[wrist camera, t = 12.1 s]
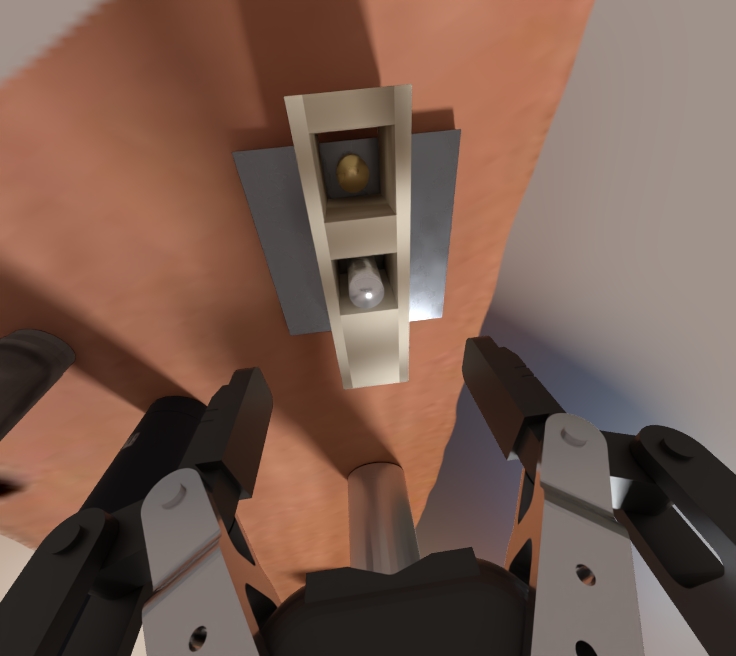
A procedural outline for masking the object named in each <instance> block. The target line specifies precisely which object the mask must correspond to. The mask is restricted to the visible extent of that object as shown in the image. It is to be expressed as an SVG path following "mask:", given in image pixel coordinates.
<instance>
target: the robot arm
mask: <svg viewBox="0 0 736 656" xmlns="http://www.w3.org/2000/svg"><path fill="white" fill-rule="evenodd" d="M462 373H463V378H464V381H465V383H466V385H467V387H468V388H469V390H470V392H471V394H472V396H473V398H474V400H475V402H476V403H477V405H478V407H479V409H480V411H481V413H482V415H483V417H484V418H485V420H486V422H487V424H488V426H489V428H490V429H491V431H492V433H493V435H494V437H495V439H496V441H497V443H498V444H499V447H500V448H501V450H502V452H503V454H504V456H505V458H506V460H507V461H508V460H514V459H520V461H521V463H522V465H523V466H524V468H523V470H522V476H521V483H520V489H519V495H518V502H517V508H516V515H515V521H514V527H513V531H512V535H511V538H510V541H509V545H508V549H507V553H506V559H505V565H504V568H502V567H500V566H498V565H496V564H494V563H492V562H489V561H486V560H483V559H479V558H476V557H475V554H474V551H473V548H472V547H469V548H463V549H457V550H450V551H443V552H437V553H432V554H430V555H428V556H426V557H424V558H423V559H420V553H419V548H418V543H417V538H416V533H415V528H414V523H413V517H412V512H411V507H410V502H409V496H408V491H407V486H406V481H405V476H404V472H403V470H402V469H401V468H400V467H399V466H397V465H394V464H390V463H373V464H368V465H364V466H361V467H359V468H357V469H355V470H354V471H353V472H352V473H350V475H349V476H348V505H349V506H348V509H349V541H350V567H343V568H337V569H331V570H324V571H318V572H312V573H306V585H305V586H303V587H301V588H300V589H298V590H297V591H296V592H294V593H293V594H292V595H290V596H289V597H288V598H287V599H286V600H285V601H284V602H283V603H281V601H280V599H279V597H278V595H277V593H276V591H275V589H274V587H273V585H272V583H271V582H270V580H269V579H268V577H267V576H266V574H265V573H264V571H263V570H262V568H261V566H260V564H259V562H258V559H257V557H256V555H255V553H254V551H253V548H252V546H251V544H250V542H249V539H248V537H247V535H246V533H245V531H244V528H243V526H242V524H241V522H240V520H239V517H238V515H237V514H236V509H237V505H238V501H239V500H242V499H249V498H252V495H253V490H254V486H255V482H256V477H257V473H258V469H259V465H260V460H261V456H262V452H263V447H264V443H265V439H266V434H267V430H268V426H269V422H270V417H271V413H272V408H273V399H272V394H271V392H270V390H269V387H268V385H267V383H266V381H265V379H264V377H263V374H262V372H261V370H260V369H259V368H258V367H253V368H245V369H238V370H236V371H235V372H234V374H233V376H232V378H231V381H230V383H229V385H224V386H222V387H221V388H220V389H219V390H218V391H217V393H216V394H215V395H214V396H213V397H212V398H211V400H210V403H209V405H208V407H207V409H206V413H204V415H203V417H202V419H201V424H199V426H198V428H197V430H196V432H195V434H194V436H193V438H192V440H191V442H190V444H189V447H188V449H187V451H186V453H185V455H184V457H183V459H182V461H181V463H180V465H179V467H178V469H177V471H174V472H172V473H170V474H169V475H167V476H165V477H164V478H163V479H161V480H160V481H159V482H158V483H157V484H156V485H155V486H154V487H153V488H152V489H151V491H150V492H149V493H148V495H147V496H146V498H144V499H142V500H140V501H138V502H135V503H133V504H131V505H129V506H127V507H124V508H122V509H120V510H118V511H115V512H113V513H111V514H108V513H107V512H105V511H103V510H102V509H99V508H88V509H85V510H82V511H80V512H78V513H76V514H74V515H72V516H70V517H69V518H67V519H66V520H65V521H63V522H62V523H61V524H59V525H58V526H57V527H56V528H55V529H54V530H53V531H52V532H51V533H50V534H49V535H48V536H47V537H46V538H45V539H44V540H43V541H42V543H41V544H40V545H39V547H38V548H37V550H36V551H35V553H34V554H33V556H32V557H31V559H30V560H29V561H28V563H27V565H26V566H25V567H24V569H23V570H22V572H21V573H20V575H19V576H18V578H17V579H16V581H15V582H14V583H13V585H12V586H11V588H10V589H9V591H8V592H7V594H6V595H5V597H4V598H3V600H2V601H1V602H0V656H57V654H58V652H59V650H60V648H61V646H62V644H63V642H64V640H65V638H66V636H67V634H68V632H69V630H70V628H71V626H72V624H73V622H74V620H75V618H76V616H77V614H78V612H79V610H80V608H81V606H82V604H83V602H84V600H85V598H86V596H87V594H89V595H91V597H90V599H89V601H88V603H87V605H86V607H85V609H84V611H83V613H82V615H81V617H80V619H79V621H78V623H77V625H76V627H75V630H74V632H73V634H72V636H71V638H70V640H69V642H68V644H67V646H66V648H65V650H64V652H63V654H62V656H131V653H132V651H133V648H134V645H135V642H136V639H137V637H138V634H139V631H140V628H141V626H142V624H143V631H144V639H145V646H146V653H147V656H645V655H644V647H643V639H642V631H641V623H640V614H639V607H638V598H637V591H636V583H635V574H634V566H633V558H632V549H631V542H630V540H631V541H632V543H633V545H634V546H635V547H636V549H637V550H638V552H639V553H640V555H641V556H642V558H643V559H644V561H645V562H646V564H647V565H648V566H649V568H650V569H651V571H652V572H653V574H654V575H655V577H656V578H657V580H658V581H659V583H660V584H661V586H662V587H663V588H664V590H665V591H666V593H667V594H668V596H669V597H670V599H671V600H672V602H673V603H674V605H675V606H676V608H677V609H678V610H679V612H680V613H681V615H682V616H683V617H684V619H685V621H686V622H687V624H688V625H689V627H690V628H691V629H692V631H693V632H694V634H695V635H696V637H697V638H698V640H699V641H700V642H701V644H702V646H703V647H704V648H705V650H706V651H707V653H708V654H709V656H736V475H735V474H734V473H733V472H732V471H731V470H730V469H729V468H728V467H726V466H725V465H724V464H723V463H722V462H721V461H720V460H718V459H717V458H716V457H715V456H714V455H713V454H712V453H711V452H710V451H708V450H707V449H706V448H705V447H704V446H703V445H701V444H700V443H699V442H697V441H696V440H695V439H693V438H691V437H690V436H688V435H686V434H684V433H682V432H680V431H677V430H675V429H672V428H669V427H665V426H659V425H650V426H646V427H644V428H643V429H641V431H640V432H639V433H638V434H637V435H636V436H635V435H628V434H620V433H613V432H606V431H601V430H598V429H597V428H596V427H595V426H594V425H593V424H591V423H590V422H588V421H587V420H585V419H583V418H581V417H578V416H576V415H572V414H567V413H566V412H565V411H564V410H563V408H562V407H561V406H560V405H559V404H558V403H557V401H556V400H555V399H554V398H553V397H552V396H551V394H550V393H549V392H548V391H547V390H546V388H545V387H544V386H543V385H542V384H541V382H540V381H539V380H538V379H537V378H536V377H534V374H533V373H532V372H531V371H530V369H529V368H527V367H526V365H525V363H523V361H522V360H521V359H520V358H519V356H518V355H517V354H515V353H513V352H512V351H510V350H509V349H507V348H505V347H500V348H499V347H498V346H497V345H496V343H495V342H494V341H493V340H492V338H491V337H490V336H481V337H473V338H468V339H467V341H466V345H465V351H464V358H463V365H462ZM674 504H675V505H676V506H677V508H678V509H679V510H680V511H681V512H682V513H683V515H684V516H685V517H686V518H687V519H688V520H689V521H690V523H691V524H692V525H693V526H694V527H695V528H696V530H697V531H698V532H699V533H700V534H701V535H702V536H703V538H704V539H705V540H706V541H707V542H708V543H709V544H710V546H711V547H712V548H713V549H714V550H715V551H716V553H717V554H718V556H719V557H720V559H721V561H722V563H723V565H722V564H721V562H720V561H719V560H718V559H717V558H716V557H715V555H714V554H713V553H712V552H711V551H710V550H709V548H708V547H707V546H706V545H705V544H704V543H703V542H702V540H701V539H700V538H699V537H698V536H697V534H696V533H695V532H694V531H693V530H692V529H691V527H690V526H689V525H688V524H687V523H686V522H685V520H683V518H682V517H681V516H680V515H679V513H678V512H677V511H676V510H675V509H674V508H673V507H672V505H674ZM614 517H615V518H616V520H617V521H618V522H617V521H616V520H615V518H614Z"/></svg>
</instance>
